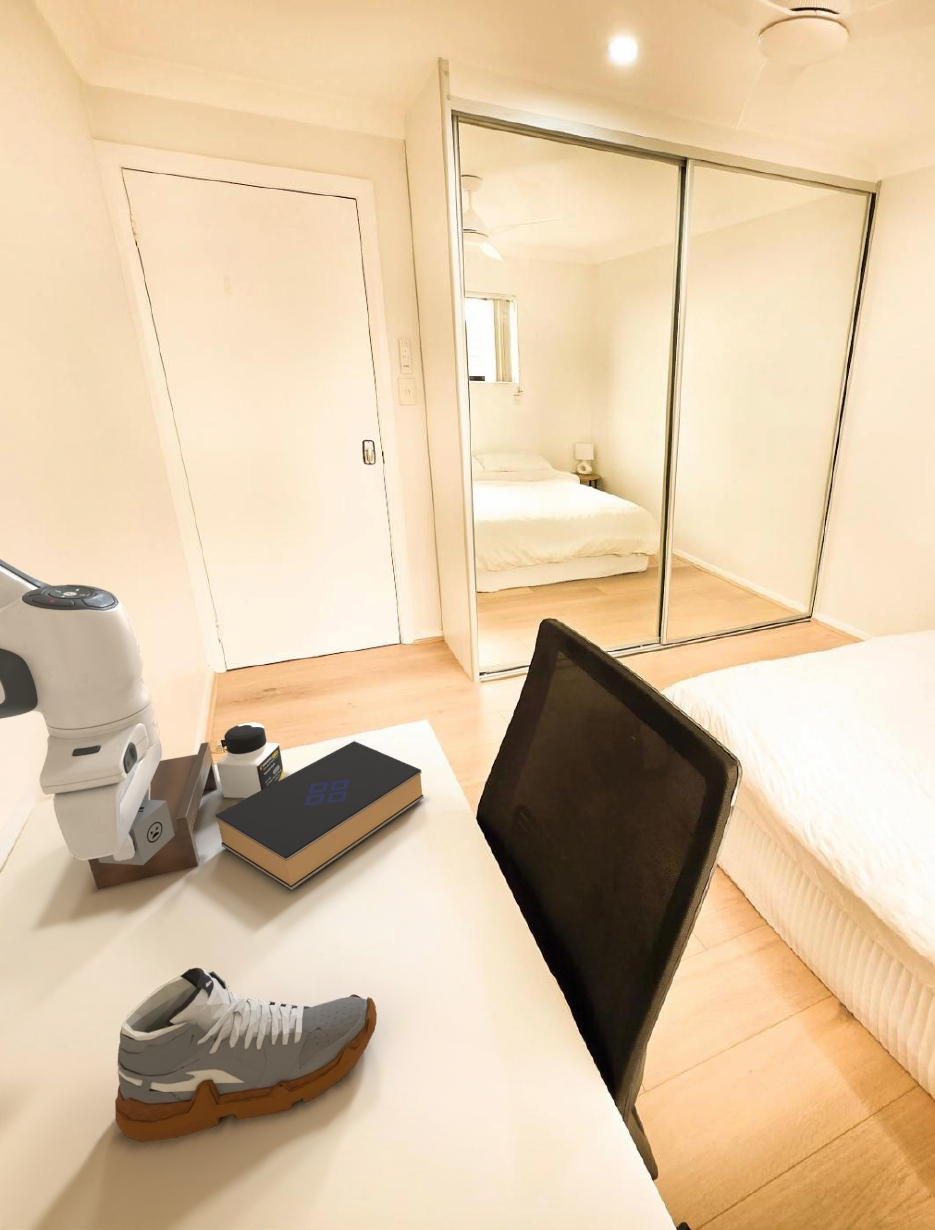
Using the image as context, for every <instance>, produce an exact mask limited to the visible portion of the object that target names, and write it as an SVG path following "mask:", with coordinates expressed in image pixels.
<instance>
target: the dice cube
mask: <svg viewBox="0 0 935 1230" xmlns="http://www.w3.org/2000/svg"><path fill="white" fill-rule="evenodd" d="M129 835H130V837H131V838H132V840H134V844H135V848H136V852H135V854H134V856H133V857H132V858H131V859H126V860H121V861H116V860H115V859H114V857H113V855H109V856H104V857H100V858H98V859H99V862H100V863H115V864H132V865H144V864H145V863H146V862H147V861H148V860H149V859H150V858H151V857H152V856H153V855H154V854H155V853H157V852H158V851H159V850H160V849H161V848H162V847H163V846H164V845H165V844H166V843H167V842H168V841H169V840H170V839H171V838H172V837H174V836H175V834H174V830H173V826H172V822H171V818H170V813H169V809H168V805H167V801H162V800H145V799H143V801H142V803H141V805H140V808H139V810H138V812H137V815H136V817H135V819H134V821H133V824H132V826H131V828H130V831H129Z"/></svg>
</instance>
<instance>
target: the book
mask: <svg viewBox="0 0 935 1230" xmlns="http://www.w3.org/2000/svg"><path fill="white" fill-rule="evenodd" d="M422 772H423V771H422V769H420V768H418V767H416V766H414V765H411V764H410V763H406V762H404V761H402V760H399V759H397V758H395V757H392V756H390V755H388V754H385V753H383V752H381V751H379V750H377V749H374V748H372V747H369V746H366V745H364V744H362V743H360V742H358V741H356V740H353V741H351V742H350V743H347V744H346V745H344V746H342V747H340V748H338V749H336V750H334V751H332V752H331V753H329V754H327V755H325V756H323V757H321V758H320V759H318V760H315V761H314V762H312V763H310V764H308V765H306V766H304V767H302V768H300V769H298V770H296V771H294V772H292V773H291V774H289V775H286V776H284V777H283V778H282V779H281V780H280V781H278V782H276V783H274V784H272V785H270V786H268V787H266V788H265V789H263V790H261V791H259V792H257V793H255V794H253V795H251V796H250V797H248V798H243V799H241V800H240V801H238V802H236V803H234V804H232V805H230V806H228V807H227V808H225V809H222V810H221V811H219V812H217V813H215V815H214V817H215V819H216V820H217V823H218V828H219V833H220V837H221V847H223V848H224V849H226V850H227V851H229V852H231V853H232V854H234V855H235V856H237V857H239V858H240V859H242V860H243V861H245V862H247V863H248V864H250V865H251V866H252V867H254V868H255V869H257V870H259V871H260V872H262V873H264V874H265V875H266V876H268V877H270V878H271V879H272V880H273V879H274V880H275V881H276V882H278V883H279V884H281V885H283V887H286V888H287V889H288V890H290V891H293V890H294V889H296V888H297V887H298V886H300V885H302V884H303V883H305V882H306V881H307V880H308V879H310V878H311V877H313V876H314V875H316V874H318V873H319V872H320V871H321V870H323V869H324V868H326V867H327V866H329V865H330V864H332V863H333V862H335V861H336V860H337V859H339V858H340V857H341V856H343V855H345V854H346V853H347V852H349V851H350V850H351V849H353V848H355V847H356V846H357V845H359V844H360V843H361V842H363V841H364V840H366V839H367V838H369V837H370V836H372V835H373V834H375V833H376V832H377V831H379V830H380V829H381V828H383V827H384V826H386V825H387V824H389V823H390V822H391V821H393V820H394V819H395V818H397V817H399V816H400V815H402V814H404V812H406V811H407V810H409V809H410V808H411V807H413V806H415V805H416V804H418V802H420V801H422V800H423V799H425V798H424V794H423V788H422V776H421V774H422Z"/></svg>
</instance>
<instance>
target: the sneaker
mask: <svg viewBox="0 0 935 1230" xmlns="http://www.w3.org/2000/svg"><path fill="white" fill-rule="evenodd" d="M376 1008H377V1006H376V1004H375V1002H374V1000H373V998H372V997H370V996H368V997H367V998H362V997H361V996H360V995H358V994H351V995H350V996H347V997H341V998H337V999H334V1000H330V1001H327V1002H323V1003H321V1004H317V1005H314V1006H308V1005H301V1004H297V1005H295V1004H293V1003H290V1002H286V1003H283V1002H282V1001H271V1000H264V1001H260V999H257V998H254V997H253V998H248V997H246V996H244V997H240V996H238V995H237V994H235V993H234V992H231V990H230V986H229V985H228V983H227V982H226V981H225V980H223V979H222V978H221V977H220V976H219V975H218V974H217V973H216V972H215V971H214V970H213V971H210V972H208V970H207V969H205V968H200V967H194V968H189V969H188V970H186V971H185V972H184V973H183V974H180V975H178V976H176V977H174V978H172V979H171V980H169V981H167V982H166V983H163V984H162V985H161V986H159V987H156V988H155V989H154V990H153V991H152V992H151V993H149V995H148V996H146V998H145V999H143V1000H142V1001H141V1002H140V1003H139V1004H138V1005H137V1006H136V1007H135V1008H133V1009H132V1011H131V1012H129V1013H128V1014H127V1015H126V1017H125V1019H124V1021H123V1022H122V1024H121V1027H120V1032H119V1044H118V1049H117V1074H118V1075H117V1076H118V1083H119V1084H118V1088H117V1096H116V1098H115V1100H114V1108H115V1109H114V1110H115V1112H114V1113H115V1114H114V1115H115V1122H116V1124H117V1126H118V1128H119V1129H120V1131H121V1133H122V1134H123V1135H124V1136H125V1137H128V1138H131V1139H133V1140H135V1141H138V1142H140V1143H148V1142H155V1141H160V1140H161V1141H162V1140H169V1139H174V1138H179V1137H183V1136H186V1135H190V1134H193V1133H197V1132H200V1131H201V1132H202V1131H203V1130H207V1129H210V1128H212V1127H215V1126H218V1125H219V1124H220V1122H221V1119H222V1117H227V1116H232V1115H235V1116H236V1118H237V1119H238V1120H239V1121H243V1120H248V1119H253V1118H254V1119H255V1118H258V1117H264V1116H270V1115H275V1114H280V1113H284V1112H288V1111H290V1110H292V1108H293V1106H294V1103H295V1102H296V1103H297V1102H299V1101H300V1100H303V1102H304V1103H309V1102H311V1101H312V1100H314V1099H316V1098H317V1097H319V1095H322V1094H323V1093H324V1092H326V1091H327V1090H328V1089H330V1088H331V1087H332V1086H334V1085H335V1084H337V1083H339V1081H341V1080H342V1079H344V1078H345V1077H346V1076H347V1075H348V1073H349V1072H350V1071H351V1070H352V1069H353V1068H354V1066H355V1065H356V1064H357V1062H359V1059H360V1058H361V1057H362V1055H363V1054H364V1052H365V1051H366V1048H367V1046H368V1044H369V1042H370V1040H371V1039H372V1037H373V1035H374V1033H375V1030H376V1025H377V1014H378V1013H377V1009H376Z"/></svg>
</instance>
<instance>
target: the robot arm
mask: <svg viewBox="0 0 935 1230" xmlns="http://www.w3.org/2000/svg"><path fill="white" fill-rule="evenodd" d="M143 669H144V659H143V656H142V652H141V648H140V644H139V641H138V637H137V633H136V630H135V627H134V624H133V621H132V620H131V617H130V615H129V613H128V611H127V609H126V608H125V606H124V604H123V603H122V601H120V599H119V598H118V597H117V596H116V595H115V594H114V593H112V592H111V591H108V590H105V589H103V588H100V587H96V586H92V585H84V584H58V585H52V584H49V583H46V582H44V581H42V580H39V579H37V578H34V577H33V576H30V575H29V574H27V573H25V572H23V571H22V570H20V569H18V568H16V567H14V566H13V565H11V564H10V563H8V562H6V561H5V560H3V559H1V558H0V719H1V720H2V719H7V718H12V717H17V716H21V715H24V714H25V715H26V714H28V713H30V712H36V713H40V714H41V715H42V716H43V719H44V722H45V725H46V729H47V733H48V737H47V741H46V742H47V743H46V744H47V751H46V756H45V759H44V763H43V766H42V769H41V771H40V774H39V786H40V788H41V791H42V793H43V794H44V795H53V794H54V795H53V809H54V810H53V811H54V815H55V818H56V820H57V823H58V827H59V829H60V832H61V835H62V838H63V839H64V842H65V844H66V847H67V849H68V851H69V853H70V855H71V856H72V857H73V858H75V859H77V860H79V861H88V860H90V859H95V858H100V857H104V856H109V855H113V857H114V859H115V860H116V861H121V860H126V859H131V858H132V857H133V856H134V854H135V852H136V848H135V844H134V840H132V838H131V837H130V835H129V831H130V828H131V826H132V824H133V821H134V819H135V817H136V815H137V812H138V810H139V808H140V805H141V803H142V801H143V799H145V800H150V783H151V780H152V778H153V776H154V774H155V771H156V769H157V767H158V764H159V762H160V761H161V760H162V757H163V746H162V742H161V739H160V735H161V733H160V729H159V724H158V720H157V715H156V711H155V707H154V702H153V699H152V695H151V693H150V690H149V689H148V687H147V686H146V685H145V683H144V680H143Z"/></svg>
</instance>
